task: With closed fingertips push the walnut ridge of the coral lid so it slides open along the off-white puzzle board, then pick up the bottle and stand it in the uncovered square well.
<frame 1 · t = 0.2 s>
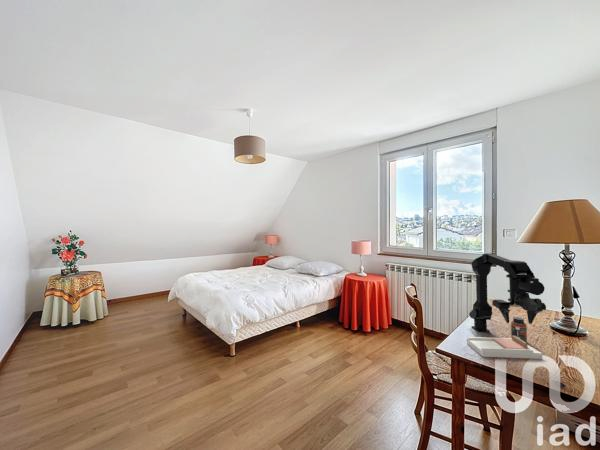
hand: (518, 323, 113), 14 cm above the table, fingers open, 9 cm apart
supplement bottle: (519, 341, 126), on the table
lid: (511, 342, 116), point 4 cm above the table, slide at 0.0 cm
board: (502, 350, 117), on the table
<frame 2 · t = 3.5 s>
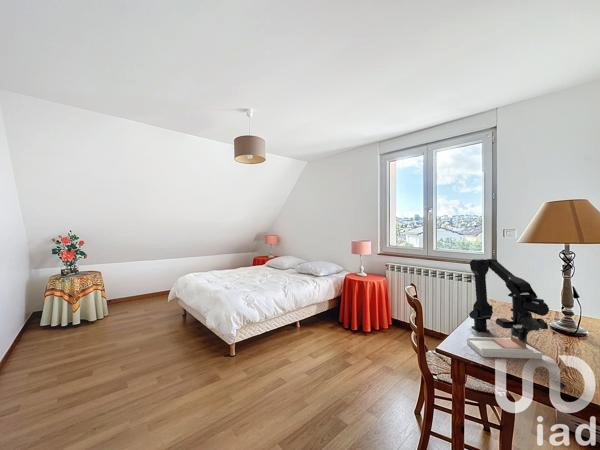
hand: (521, 341, 116), 4 cm above the table, fingers closed
lid: (509, 342, 116), point 4 cm above the table, slide at 0.5 cm, touching gripper
everything else where it was.
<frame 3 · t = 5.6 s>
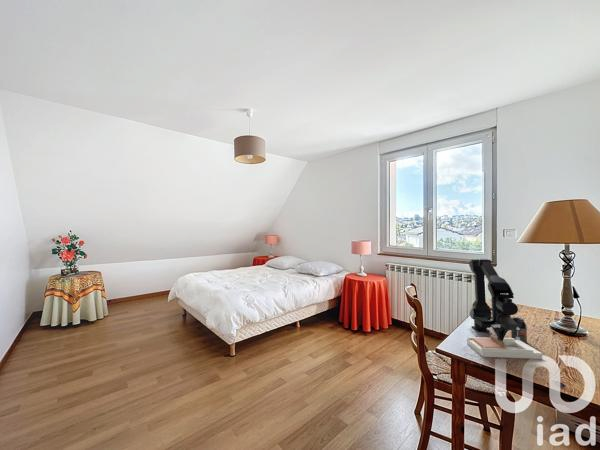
hand: (500, 341, 117), 4 cm above the table, fingers closed
lid: (489, 341, 117), point 4 cm above the table, slide at 9.5 cm, touching gripper
everything else where it was.
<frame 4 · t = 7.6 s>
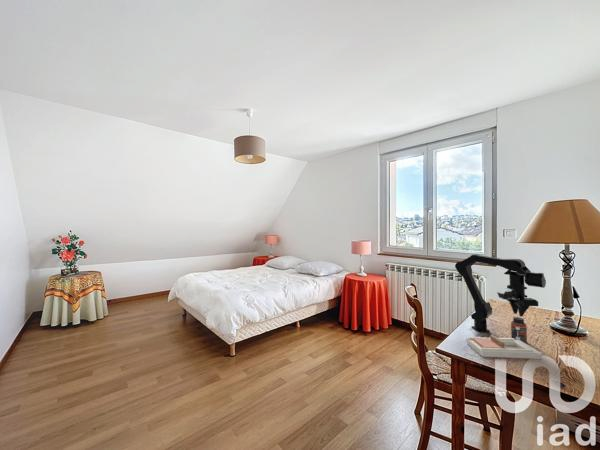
hand: (518, 314, 126), 13 cm above the table, fingers open, 4 cm apart
lid: (489, 341, 117), point 4 cm above the table, slide at 9.5 cm
everything else where it was.
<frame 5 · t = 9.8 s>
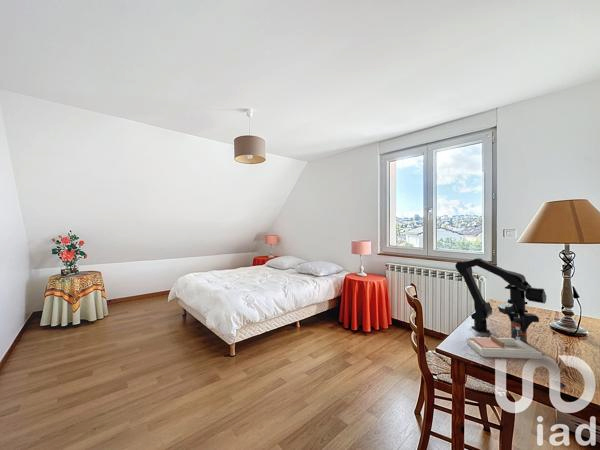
hand: (518, 329, 126), 6 cm above the table, fingers closed on supplement bottle, 6 cm apart
supplement bottle: (519, 341, 126), on the table, touching gripper
everything else where it was.
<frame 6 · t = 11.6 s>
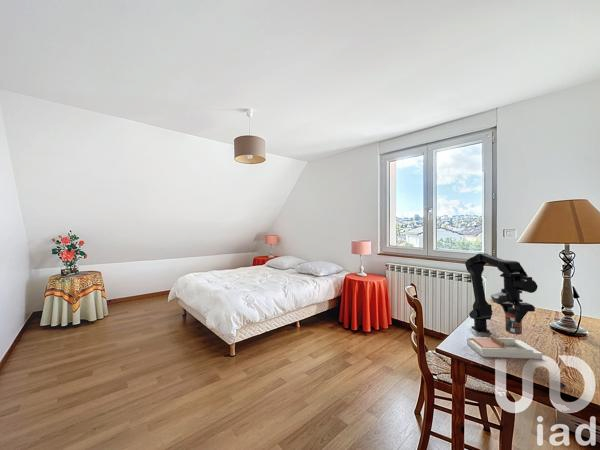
hand: (513, 320, 118), 13 cm above the table, fingers closed on supplement bottle, 6 cm apart
supplement bottle: (513, 332, 118), point 7 cm above the table, touching gripper
everything else where it was.
when the fingers open (7 cm above the table, at t = 13.4 s): supplement bottle stays where it is, resting on board.
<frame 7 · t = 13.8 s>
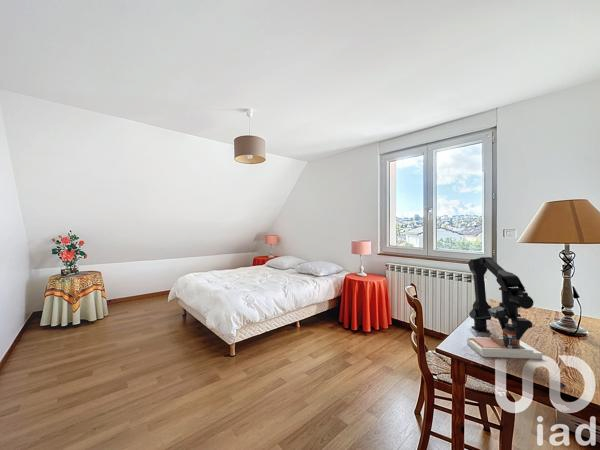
hand: (510, 335, 116), 7 cm above the table, fingers open, 9 cm apart
supplement bottle: (511, 349, 116), resting on board
everything else where it was.
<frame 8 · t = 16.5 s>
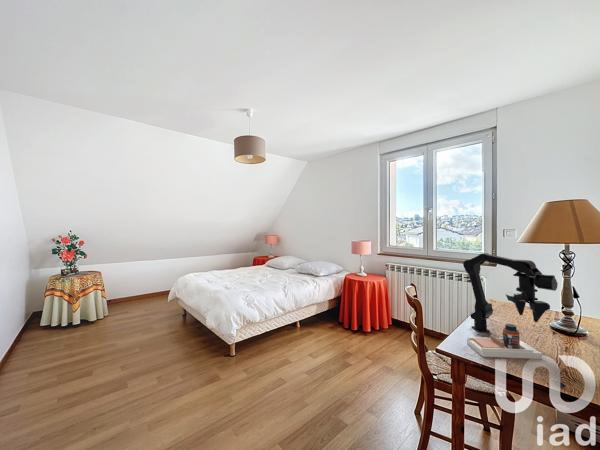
hand: (528, 318, 121), 13 cm above the table, fingers open, 9 cm apart
nothing on the table moved.
at the end: lid slide at 9.5 cm; supplement bottle inside the target area (0.2 cm from its centre), resting on board; supplement bottle tilted 0° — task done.
